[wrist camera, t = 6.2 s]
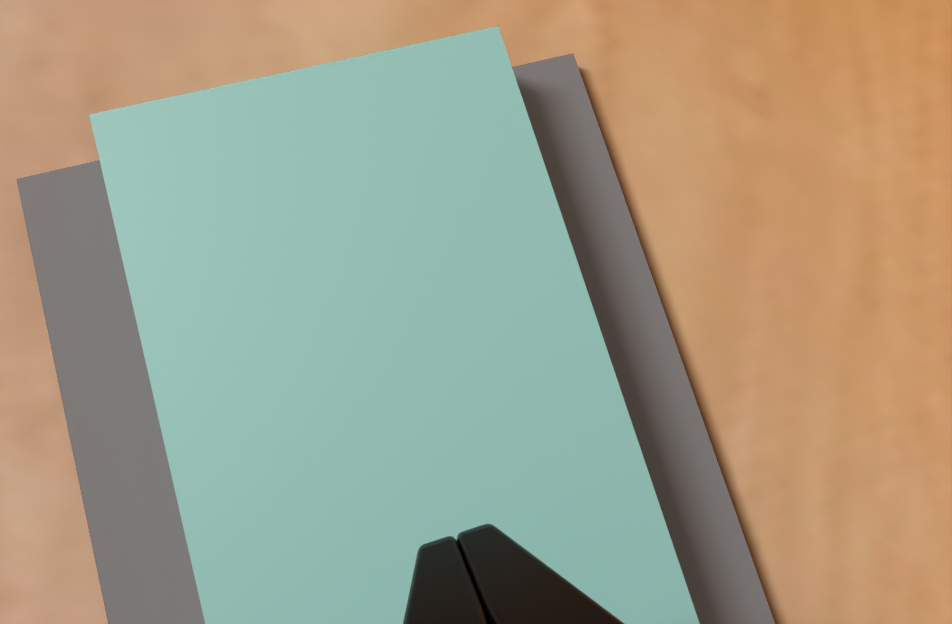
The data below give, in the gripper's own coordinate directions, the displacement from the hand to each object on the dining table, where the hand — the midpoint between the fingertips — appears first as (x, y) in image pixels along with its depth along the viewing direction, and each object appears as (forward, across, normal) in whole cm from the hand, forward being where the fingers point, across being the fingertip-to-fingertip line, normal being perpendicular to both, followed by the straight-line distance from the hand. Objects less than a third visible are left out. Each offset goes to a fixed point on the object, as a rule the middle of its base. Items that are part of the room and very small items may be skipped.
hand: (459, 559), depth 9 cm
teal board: (+2, 0, -6) cm, 7 cm away
